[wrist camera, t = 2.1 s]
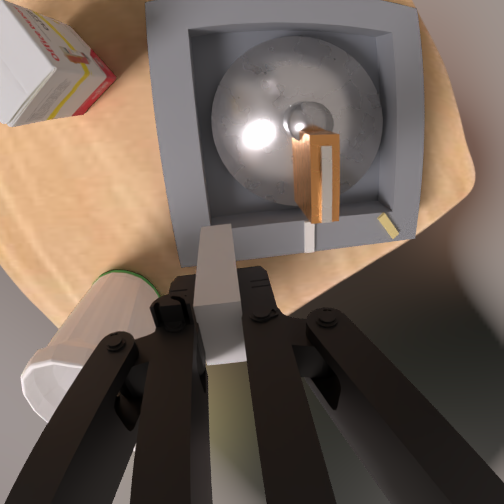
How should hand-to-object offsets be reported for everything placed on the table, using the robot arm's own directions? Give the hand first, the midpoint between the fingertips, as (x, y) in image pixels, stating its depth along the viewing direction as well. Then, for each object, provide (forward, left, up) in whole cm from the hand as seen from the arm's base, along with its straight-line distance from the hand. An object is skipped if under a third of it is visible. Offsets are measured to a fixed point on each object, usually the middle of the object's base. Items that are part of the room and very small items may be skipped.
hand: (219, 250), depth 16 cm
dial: (-5, +7, -12) cm, 15 cm away
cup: (+12, -12, -14) cm, 22 cm away
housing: (-5, +7, -14) cm, 16 cm away
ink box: (-13, -12, -14) cm, 22 cm away
